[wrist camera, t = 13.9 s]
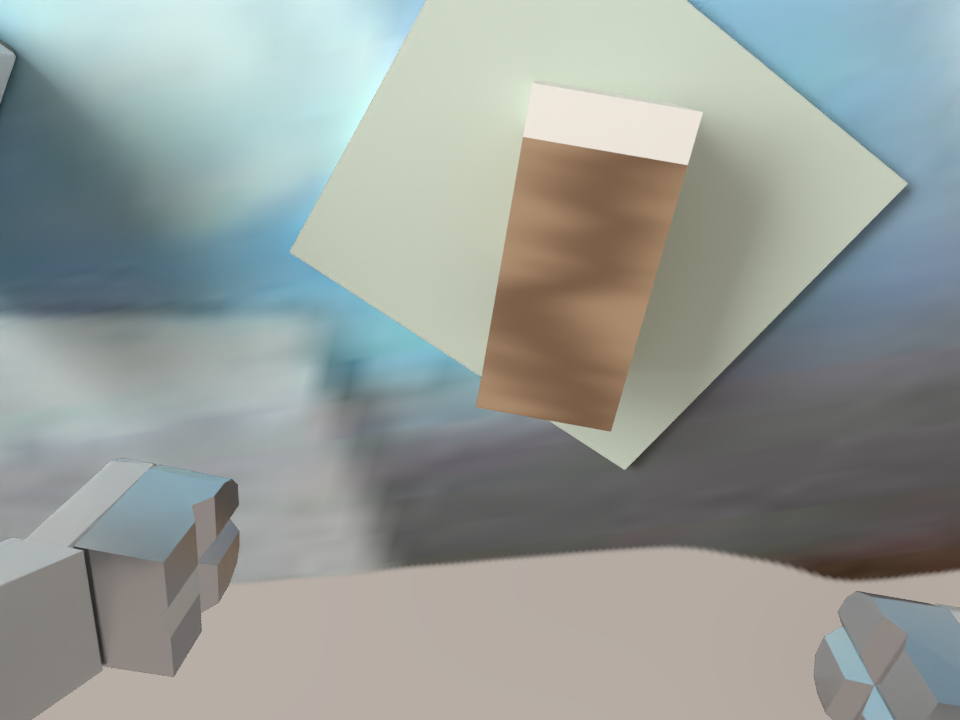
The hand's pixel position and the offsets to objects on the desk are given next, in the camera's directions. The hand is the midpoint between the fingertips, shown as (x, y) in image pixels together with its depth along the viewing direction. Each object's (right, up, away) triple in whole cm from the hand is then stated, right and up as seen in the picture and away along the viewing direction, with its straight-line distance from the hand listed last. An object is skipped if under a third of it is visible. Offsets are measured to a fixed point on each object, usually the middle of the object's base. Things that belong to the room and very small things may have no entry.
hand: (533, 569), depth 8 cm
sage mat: (+3, +9, +17) cm, 19 cm away
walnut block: (+2, +2, +17) cm, 17 cm away
